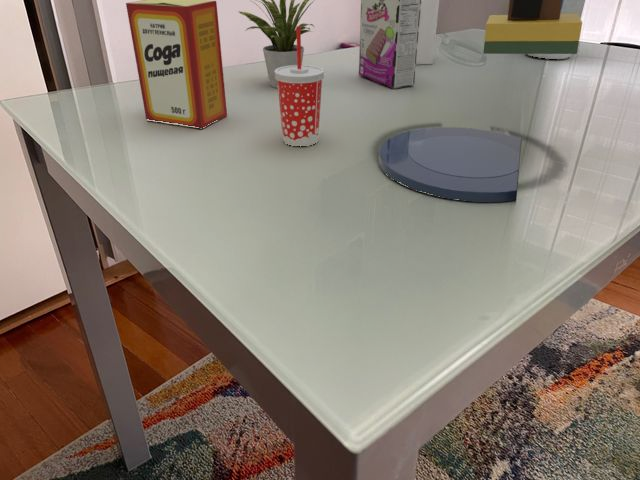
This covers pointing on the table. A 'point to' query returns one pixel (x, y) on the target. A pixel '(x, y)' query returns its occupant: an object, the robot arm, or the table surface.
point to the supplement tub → (570, 5)
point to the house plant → (280, 35)
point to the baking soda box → (179, 60)
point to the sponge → (534, 32)
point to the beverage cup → (299, 100)
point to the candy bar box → (389, 41)
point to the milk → (427, 31)
